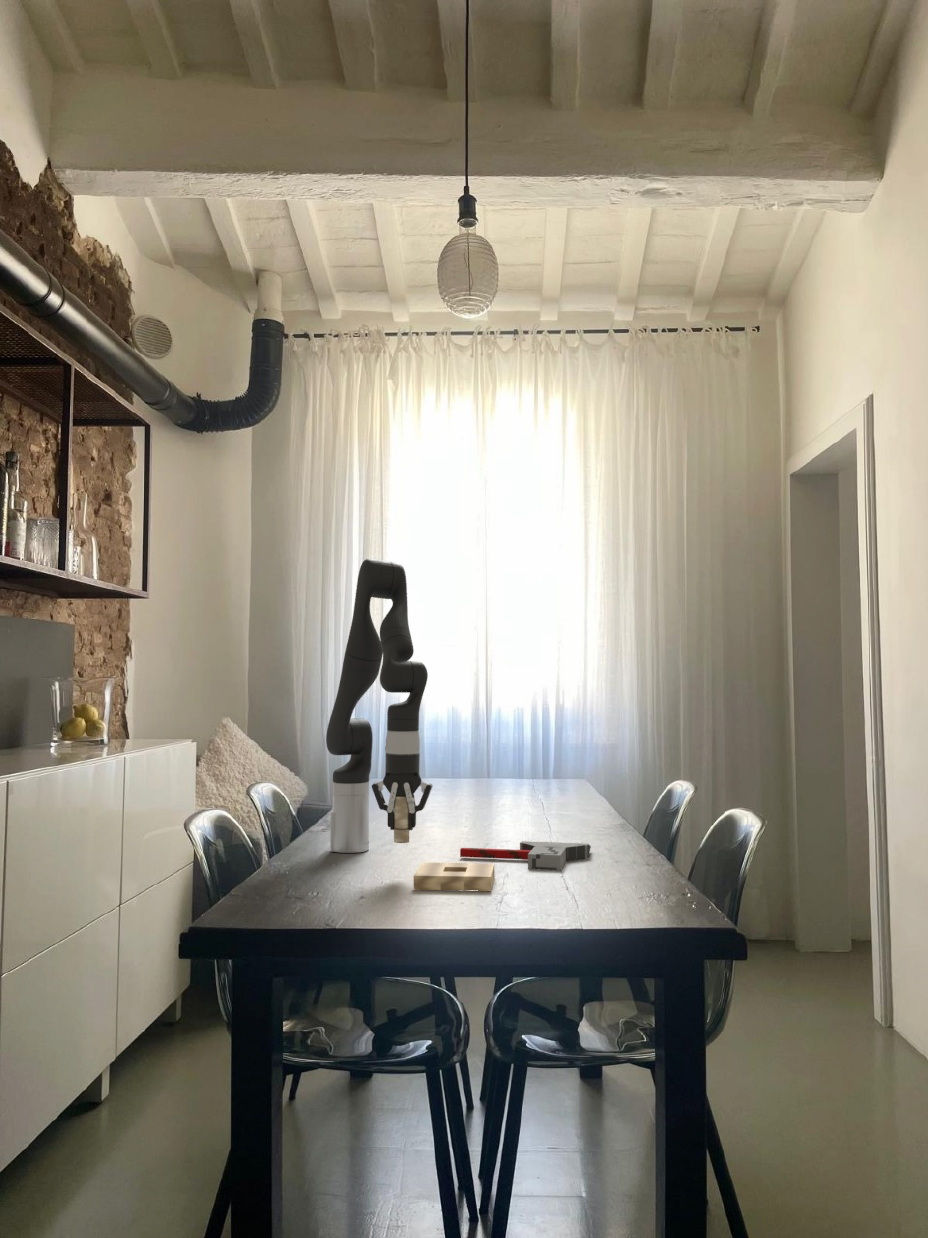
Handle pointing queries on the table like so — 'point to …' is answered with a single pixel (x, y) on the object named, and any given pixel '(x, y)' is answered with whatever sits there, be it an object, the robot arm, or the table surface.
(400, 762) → the robot arm
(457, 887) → the board
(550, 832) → the table surface
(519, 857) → the toy hammer
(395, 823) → the peg
